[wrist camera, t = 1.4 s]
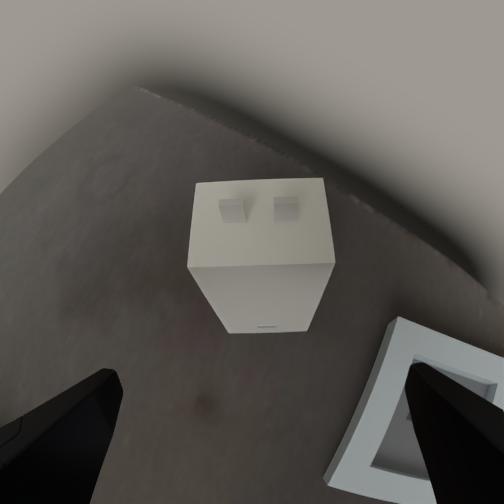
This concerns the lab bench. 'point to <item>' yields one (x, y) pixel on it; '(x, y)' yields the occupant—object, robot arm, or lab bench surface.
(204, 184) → the adapter
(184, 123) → the lab bench surface
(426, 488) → the outlet plate
